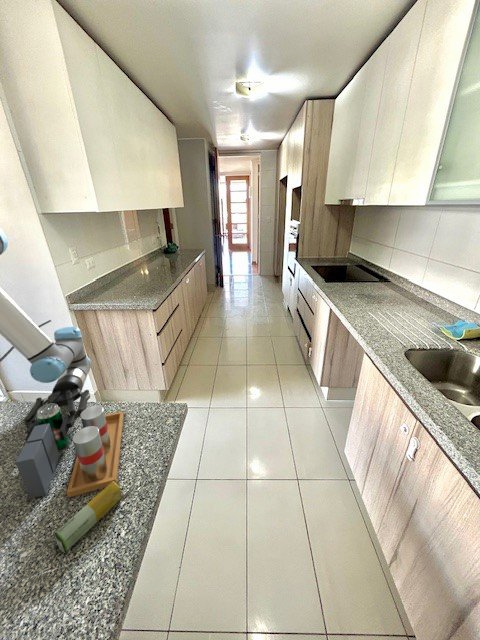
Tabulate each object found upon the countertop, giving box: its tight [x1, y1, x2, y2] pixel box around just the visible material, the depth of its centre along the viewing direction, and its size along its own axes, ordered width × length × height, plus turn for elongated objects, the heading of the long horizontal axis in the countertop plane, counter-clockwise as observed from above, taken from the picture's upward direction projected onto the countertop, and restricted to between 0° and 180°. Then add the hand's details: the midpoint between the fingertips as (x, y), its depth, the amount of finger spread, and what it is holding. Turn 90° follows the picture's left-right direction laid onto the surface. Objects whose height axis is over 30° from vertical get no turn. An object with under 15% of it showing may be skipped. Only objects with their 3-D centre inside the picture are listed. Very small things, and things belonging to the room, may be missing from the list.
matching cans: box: [72, 405, 111, 483], centre depth 62 cm, size 13×5×12 cm, turn 19°
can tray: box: [66, 411, 125, 498], centre depth 68 cm, size 24×10×2 cm, turn 19°
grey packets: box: [15, 423, 60, 500], centre depth 59 cm, size 10×3×11 cm, turn 19°
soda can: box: [36, 403, 70, 451], centre depth 67 cm, size 5×5×12 cm
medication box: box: [53, 481, 123, 554], centre depth 51 cm, size 12×3×4 cm, turn 149°
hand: (45, 439), depth 62 cm, fingers open, 6 cm apart
